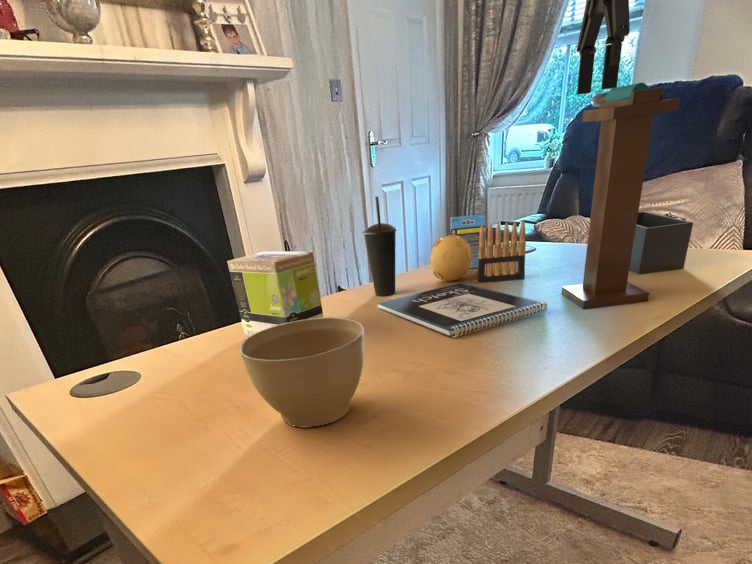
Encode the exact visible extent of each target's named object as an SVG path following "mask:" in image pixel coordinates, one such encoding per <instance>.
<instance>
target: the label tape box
mask: <svg viewBox="0 0 752 564" xmlns="http://www.w3.org/2000/svg"><path fill="white" fill-rule="evenodd" d="M467 221H469V222H473V223H464V222H467ZM486 221H487V214H486V213H483V214H475V215H474V214H473V215H463V216H453V217H452V216H451V217H450V230H449V231H450V234H449V235H457V236H459V237H461V238H463V239H465V240H466V241H467V242H468V244H469V246H470V248H471V250H472V261H471V265H470V267H469V269H470V268H471V269H478V246H479V234H480V228H481V225H482V224H483V227H484V232H485V245H487V224H486V223H487V222H486ZM463 223H464V224H463ZM485 267H486V264H485ZM469 269H468V270H469Z"/></svg>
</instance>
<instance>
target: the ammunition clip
mask: <svg viewBox="0 0 752 564" xmlns="http://www.w3.org/2000/svg"><path fill="white" fill-rule="evenodd" d="M501 228H502V227H501V224H500V222H497V223H496V229H495V238H494V231H493V225H492V224H491V223H489V225H488V228H487V234H486V245H485V232H484V227H483V224H482V225H481V228H480V234H479V246H478V268H477V283H479V282H480V283H492V282H491V281H493V282H503V281H506V282H507V281H517V280H518V281H519V280H525V278H526V244H527V242H526V241H527V240H526V224H525V221H524V220H522V221H521V223H520V228H519V235H518V224H517V222H516V221H515V220H514V221H513V224H512V228H511V236H510V229H509V223H508V221H506V222H505V224H504V227H503V238H502V229H501ZM518 236H519V237H518ZM485 264H486V266H485ZM480 283H479V284H480Z"/></svg>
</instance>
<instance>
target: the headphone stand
mask: <svg viewBox="0 0 752 564" xmlns="http://www.w3.org/2000/svg"><path fill="white" fill-rule="evenodd" d="M664 93H665V87H656V88H648V90H641V91H634V92H632V97H631V99H625V100H618V101H612V102H605V103H600V104H599V106H598V108H597V109H590V110H583V111H582V119H581V122H582V123H587V122H600V121H601V122H600V130H599V138H598V147H597V154H596V155H597V156H596V157H597V158H596V164H595V165H596V166H595V174H594V182H593V192H592V200H591V209H590V218H589V227H588V235H587V244H586V253H585V261H584V270H583V280H582V283H579V284H570V285H564V286H563V285H562V287H561V295H562V296H564V297H565V298H566V299H568V300H569V301H571V302H572V303H574V304H575V305H576V306H578V307H579V308H580V309H582V310H588V309H596V308H604V307H611V306H619V305H626V304H627V305H628V304H636V303H642V302H648V301H649V297H650V291H648V290H644V289H643V288H641V287H639V286H637V285H635V284H633V283H631V282H629V281H628V280H629V275H630V274H629V273H630V270H629V268H630V262H631V255H632V249H633V243H634V236H635V230H636V224H637V218H638V212H640V205H641V199H642V198H641V197H642V192H643V186H644V180H645V174H646V167H647V161H648V154H649V148H650V147H649V146H650V140H651V134H652V129H653V124H654V123H653V122H654V116H655V114H661V113H669V112H674V111H679V107H680V101H681V98H680V97H678V98H677V97H676V98H670V99H669V98H668V99H663V98H664Z"/></svg>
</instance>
